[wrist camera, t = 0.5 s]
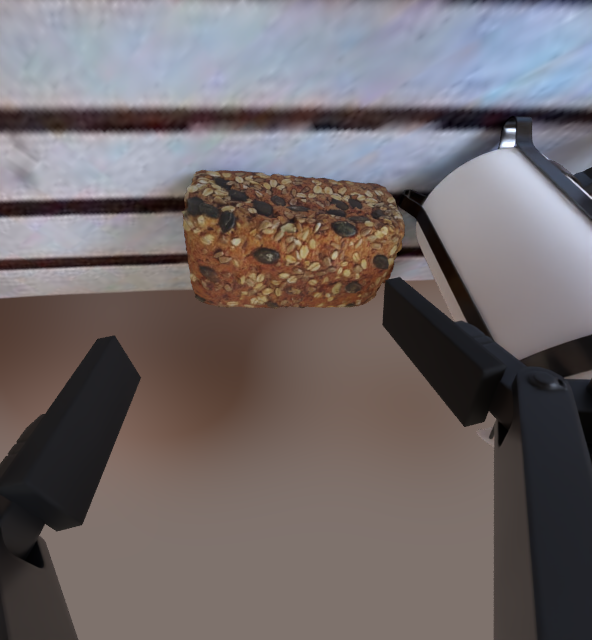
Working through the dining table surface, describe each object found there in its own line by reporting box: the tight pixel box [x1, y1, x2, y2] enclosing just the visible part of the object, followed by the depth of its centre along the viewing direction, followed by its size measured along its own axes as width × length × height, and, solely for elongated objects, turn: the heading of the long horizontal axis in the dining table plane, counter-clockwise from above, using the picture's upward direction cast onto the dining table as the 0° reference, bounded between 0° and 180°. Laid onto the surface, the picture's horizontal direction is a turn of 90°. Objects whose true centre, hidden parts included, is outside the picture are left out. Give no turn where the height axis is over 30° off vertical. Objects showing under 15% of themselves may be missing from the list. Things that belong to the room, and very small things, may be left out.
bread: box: [182, 170, 405, 308], centre depth 27 cm, size 19×11×10 cm, turn 81°
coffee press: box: [399, 116, 592, 447], centre depth 20 cm, size 17×16×30 cm
